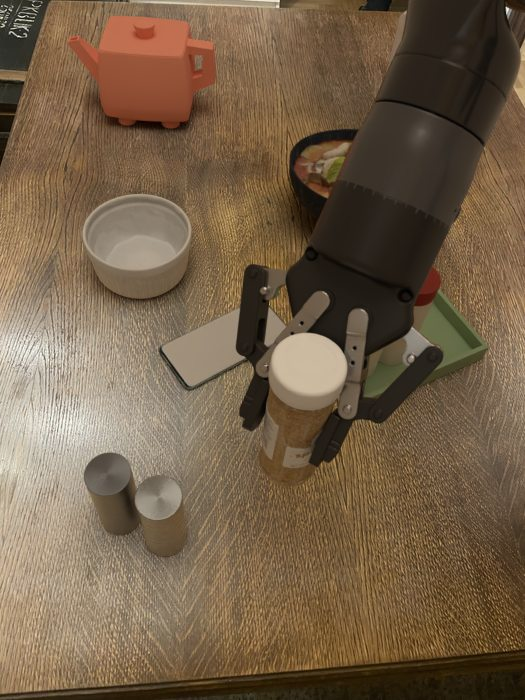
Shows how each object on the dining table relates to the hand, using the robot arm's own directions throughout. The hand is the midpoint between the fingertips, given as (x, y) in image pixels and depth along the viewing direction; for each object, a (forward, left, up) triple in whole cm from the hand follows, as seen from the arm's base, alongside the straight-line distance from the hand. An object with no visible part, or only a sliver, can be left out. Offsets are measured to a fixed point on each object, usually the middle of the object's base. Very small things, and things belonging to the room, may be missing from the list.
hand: (283, 443), depth 40 cm
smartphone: (+24, -6, -23) cm, 34 cm away
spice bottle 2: (+16, -24, -22) cm, 37 cm away
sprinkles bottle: (+1, -2, -6) cm, 7 cm away
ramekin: (+39, 0, -23) cm, 46 cm away
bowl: (+40, -30, -23) cm, 55 cm away
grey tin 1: (+8, +11, -23) cm, 27 cm away
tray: (+16, -25, -23) cm, 38 cm away
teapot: (+73, -11, -23) cm, 78 cm away
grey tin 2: (+5, +8, -23) cm, 25 cm away
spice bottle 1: (+16, -19, -22) cm, 33 cm away
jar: (+66, -58, -23) cm, 91 cm away
